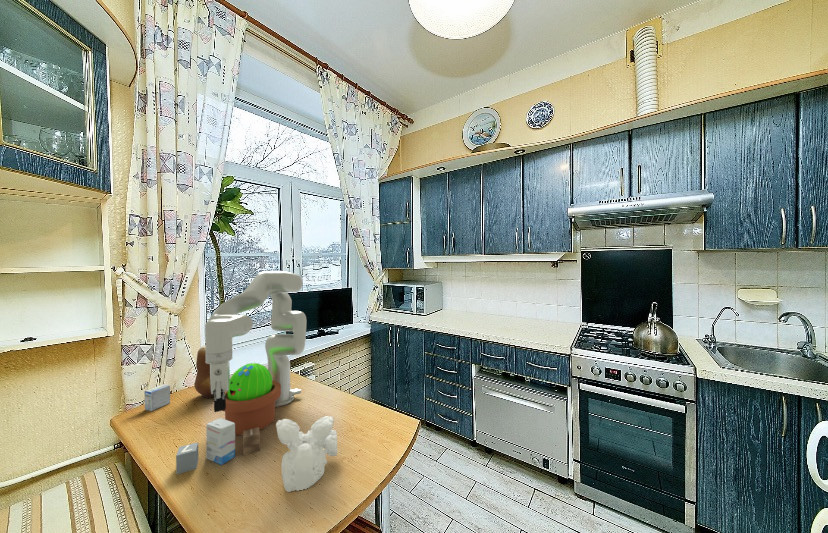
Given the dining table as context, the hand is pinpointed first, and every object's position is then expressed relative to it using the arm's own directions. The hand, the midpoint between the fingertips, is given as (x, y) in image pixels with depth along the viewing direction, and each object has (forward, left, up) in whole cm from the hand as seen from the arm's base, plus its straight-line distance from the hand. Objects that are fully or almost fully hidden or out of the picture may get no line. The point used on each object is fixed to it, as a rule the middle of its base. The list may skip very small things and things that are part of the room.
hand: (220, 410), depth 99 cm
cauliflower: (-25, +20, -17) cm, 36 cm away
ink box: (0, 0, -17) cm, 17 cm away
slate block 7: (+9, 0, -16) cm, 19 cm away
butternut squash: (+8, -57, -17) cm, 60 cm away
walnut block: (-9, 0, -16) cm, 19 cm away
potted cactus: (-9, -19, -17) cm, 27 cm away
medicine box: (+28, -56, -17) cm, 65 cm away
